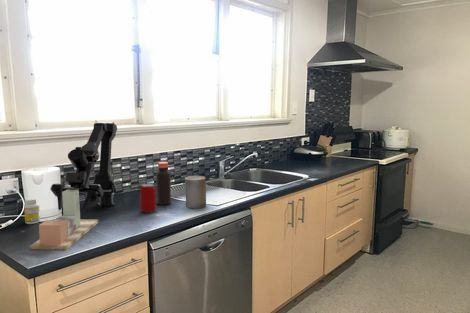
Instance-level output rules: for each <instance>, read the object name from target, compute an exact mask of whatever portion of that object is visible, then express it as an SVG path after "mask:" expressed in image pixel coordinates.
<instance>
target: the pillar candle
mask: <svg viewBox="0 0 470 313" xmlns="http://www.w3.org/2000/svg"><path fill="white" fill-rule="evenodd" d="M184 179H185V180H184V181H185V182H184V184H185V187H184V188H185V207H186V208H187V209H202V208H205V207H206V206H207V183H206V180H207V178H206V176H203V175H189V176H186V177H184Z"/></svg>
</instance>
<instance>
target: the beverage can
mask: <svg viewBox="0 0 470 313" xmlns="http://www.w3.org/2000/svg"><path fill="white" fill-rule="evenodd" d="M139 200H140V211H141V212H143V213H152V212H154V211H155V210H156V209H157V193H156V186H155V184H153V183H142V184H141V186H140V188H139Z"/></svg>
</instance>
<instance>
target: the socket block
mask: <svg viewBox="0 0 470 313" xmlns="http://www.w3.org/2000/svg"><path fill="white" fill-rule="evenodd" d="M38 232H39V233H38V234H39V239H40V244H62V243H63V242H65V241H66V240H67V239H68V234H67V221H57V220H55V219H53V220H49V219H48V220H45V221H43V222H42V223H39V224H38Z"/></svg>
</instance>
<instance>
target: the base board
mask: <svg viewBox="0 0 470 313" xmlns="http://www.w3.org/2000/svg"><path fill="white" fill-rule="evenodd" d="M54 220H57V221H67V234H68V239H67V240H66V241H65V242H63V243H62V244H40V238H38V240H37V241H35V242H34V243H31V244H30V246H29V247H30V248H29V249H30V250H54V251H55V249H57V250H58V249H59V250H60V251H61V250H62V251H63V249H64V250H65V251H66V249H67V250H68V249H69V248H70V247H71V246H73V245H74V244H75V243H76V242H77V241H79V240H80V239H81V238H82V237H83V236H85V234H86V233H89V231H91V230H92V229H93V228H94V227H96V225H97V224H99V219H86V218H85V219H81V218H80V224H81V225H80V226H79V227H77V228H76V216H63V215H59V216H58V217H56V218H55V219H54ZM59 250H58V251H59Z"/></svg>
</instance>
